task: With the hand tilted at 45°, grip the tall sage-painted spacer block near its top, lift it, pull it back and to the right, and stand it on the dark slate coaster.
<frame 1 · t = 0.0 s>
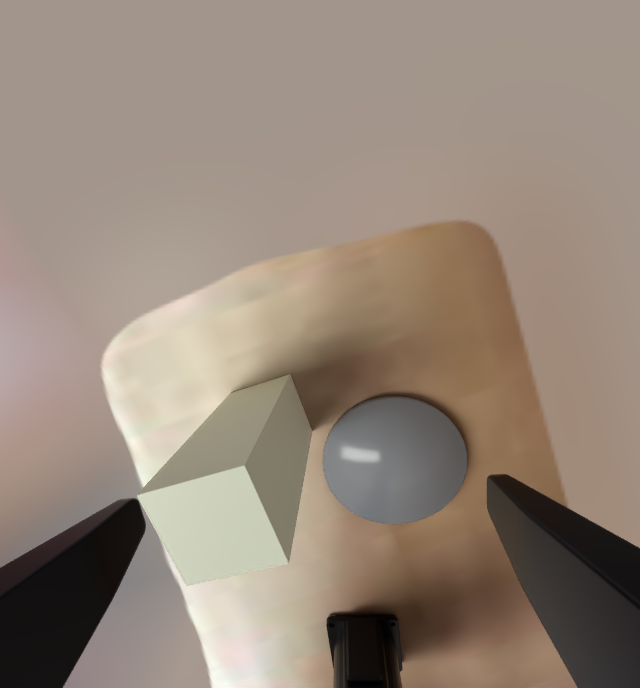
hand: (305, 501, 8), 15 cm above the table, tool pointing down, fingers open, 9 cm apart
spacer block: (271, 412, 23), on the table
slate coaster: (392, 460, 23), on the table
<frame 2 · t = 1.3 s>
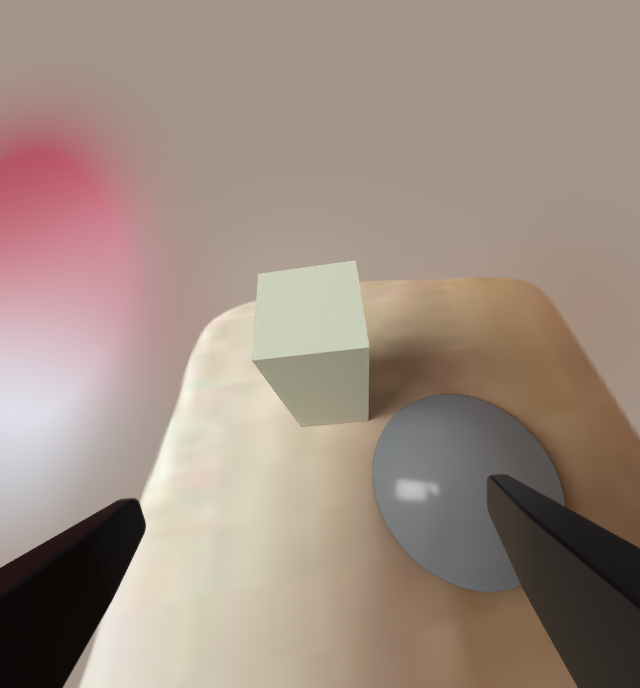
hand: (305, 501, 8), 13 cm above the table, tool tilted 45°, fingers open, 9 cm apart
spacer block: (331, 392, 23), on the table
slate coaster: (459, 479, 19), on the table
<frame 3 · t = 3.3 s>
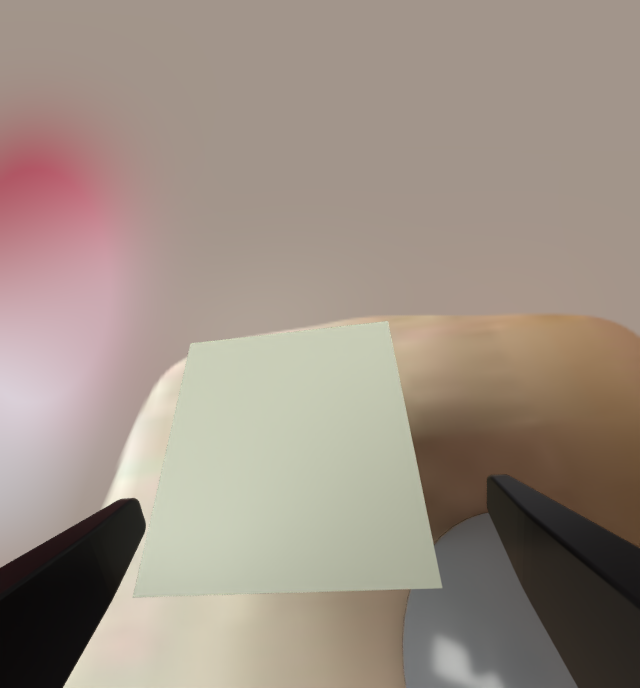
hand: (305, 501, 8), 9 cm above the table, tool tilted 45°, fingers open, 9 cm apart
spacer block: (334, 491, 15), on the table
slate coaster: (556, 681, 11), on the table
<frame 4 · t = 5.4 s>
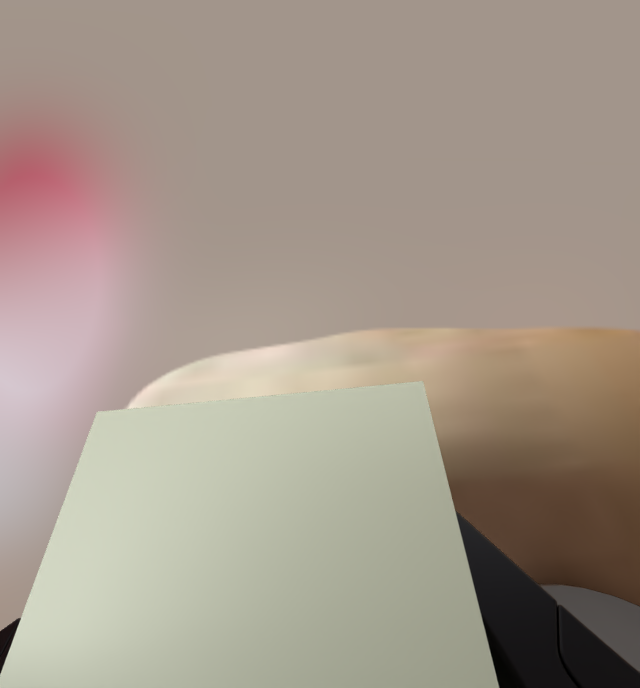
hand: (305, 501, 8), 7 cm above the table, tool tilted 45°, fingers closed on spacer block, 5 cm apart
spacer block: (334, 550, 12), on the table, touching gripper
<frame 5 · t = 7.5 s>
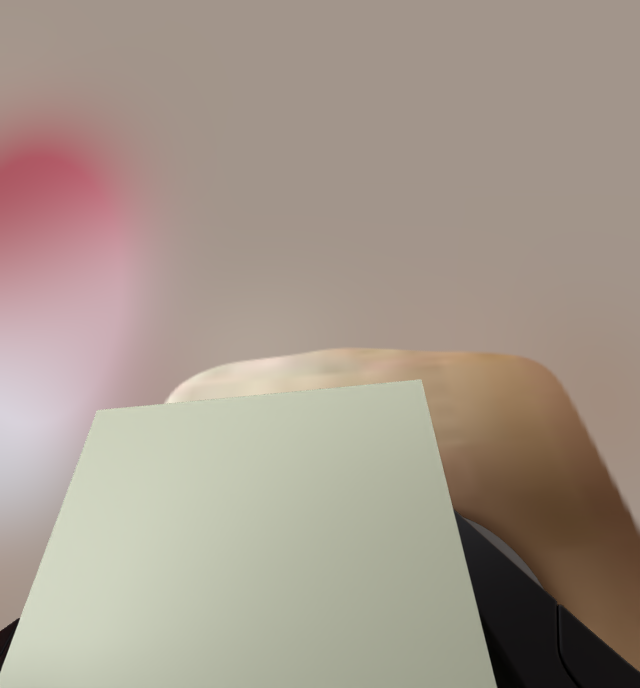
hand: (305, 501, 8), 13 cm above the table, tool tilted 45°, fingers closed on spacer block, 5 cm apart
spacer block: (333, 549, 12), point 7 cm above the table, touching gripper
slate coaster: (446, 631, 15), on the table
when the fingers open (9 cm above the table, at t = 10.0 s): spacer block drops 1 cm, resting on slate coaster.
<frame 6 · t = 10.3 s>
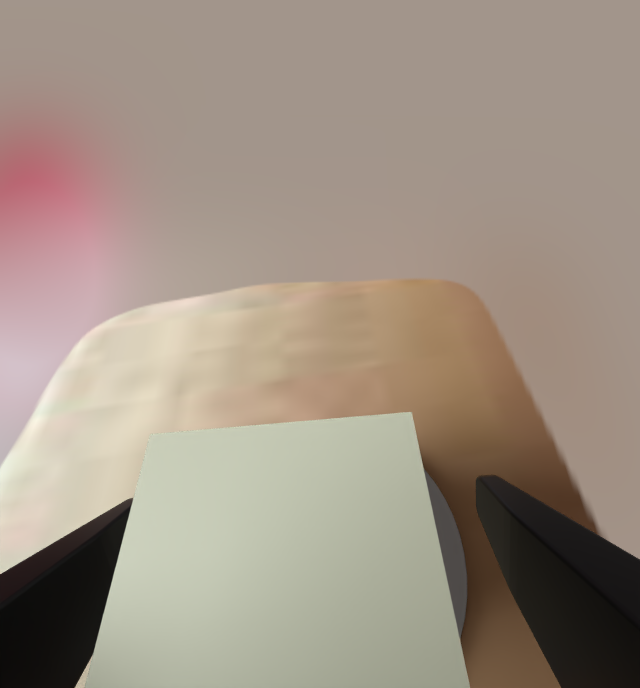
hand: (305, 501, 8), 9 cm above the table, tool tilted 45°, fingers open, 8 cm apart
spacer block: (336, 547, 13), point 1 cm above the table, touching slate coaster
slate coaster: (338, 546, 14), on the table
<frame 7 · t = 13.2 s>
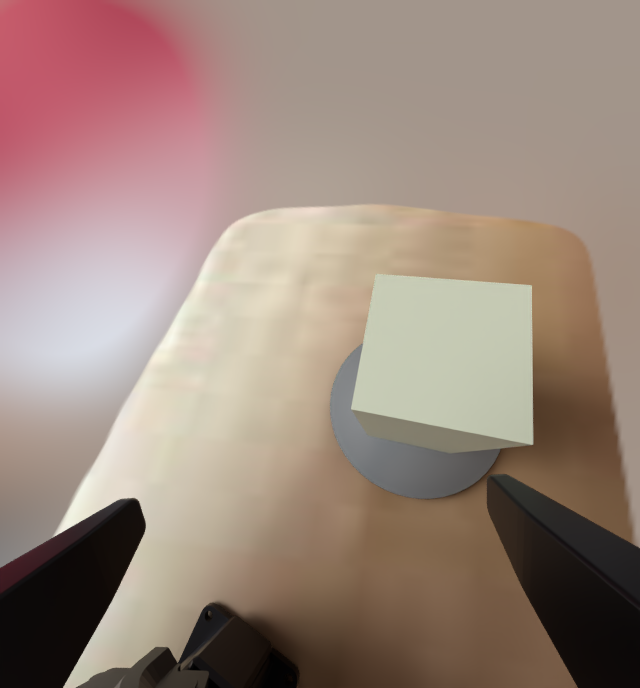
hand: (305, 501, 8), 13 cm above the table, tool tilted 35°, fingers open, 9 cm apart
spacer block: (412, 405, 19), point 1 cm above the table, touching slate coaster
slate coaster: (411, 406, 20), on the table
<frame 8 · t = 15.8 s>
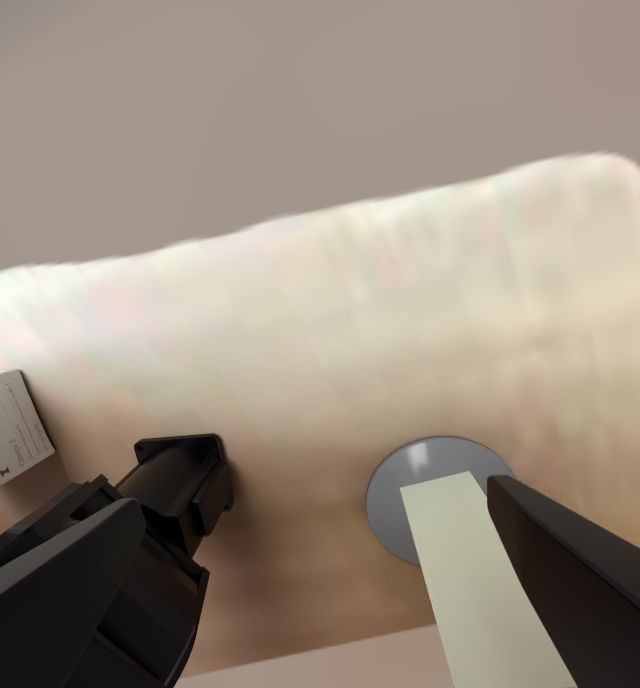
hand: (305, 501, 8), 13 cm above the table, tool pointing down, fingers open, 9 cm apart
supplement box: (3, 415, 23), on the table
spacer block: (442, 508, 22), point 1 cm above the table, touching slate coaster
slate coaster: (439, 502, 22), on the table
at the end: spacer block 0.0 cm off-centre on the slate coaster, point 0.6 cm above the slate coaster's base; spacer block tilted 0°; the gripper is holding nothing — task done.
